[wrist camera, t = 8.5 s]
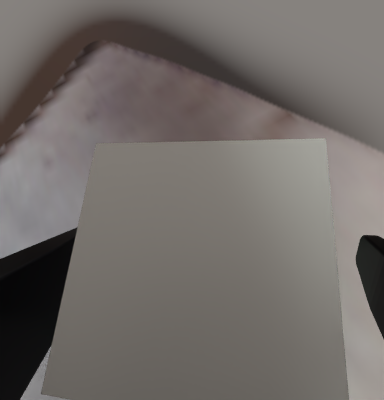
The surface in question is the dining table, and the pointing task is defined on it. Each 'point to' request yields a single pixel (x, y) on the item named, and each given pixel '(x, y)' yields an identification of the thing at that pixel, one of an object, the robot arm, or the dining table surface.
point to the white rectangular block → (202, 276)
